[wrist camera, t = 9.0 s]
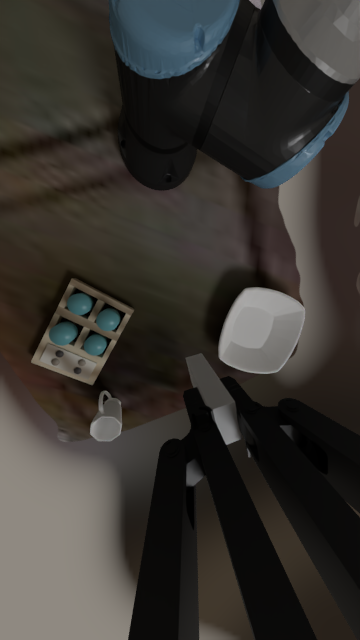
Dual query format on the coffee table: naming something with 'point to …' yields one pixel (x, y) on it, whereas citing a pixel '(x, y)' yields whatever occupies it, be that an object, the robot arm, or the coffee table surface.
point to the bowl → (261, 330)
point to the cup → (107, 419)
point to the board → (73, 355)
